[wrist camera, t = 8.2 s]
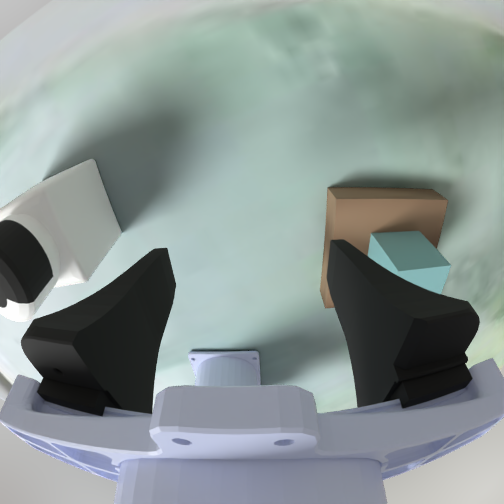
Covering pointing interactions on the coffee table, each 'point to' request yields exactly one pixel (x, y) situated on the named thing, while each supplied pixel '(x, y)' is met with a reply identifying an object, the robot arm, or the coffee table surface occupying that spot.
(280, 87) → the coffee table surface
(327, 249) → the walnut slab
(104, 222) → the medicine bottle
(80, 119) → the coffee table surface
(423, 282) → the teal block
